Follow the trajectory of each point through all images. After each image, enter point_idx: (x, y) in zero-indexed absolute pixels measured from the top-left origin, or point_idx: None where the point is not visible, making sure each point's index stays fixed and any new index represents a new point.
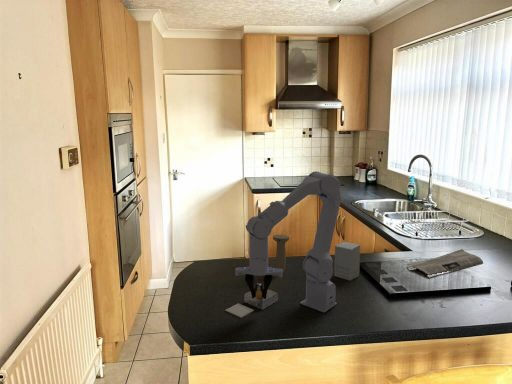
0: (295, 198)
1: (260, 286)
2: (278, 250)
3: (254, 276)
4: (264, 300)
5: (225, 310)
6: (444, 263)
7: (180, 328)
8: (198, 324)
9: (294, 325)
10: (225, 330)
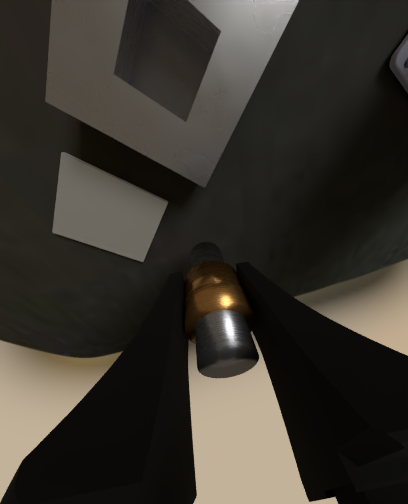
0: None
1: (241, 368)
2: None
3: (161, 422)
4: (212, 171)
5: (54, 231)
6: None
7: (16, 339)
8: (43, 317)
9: (309, 254)
10: (134, 317)
